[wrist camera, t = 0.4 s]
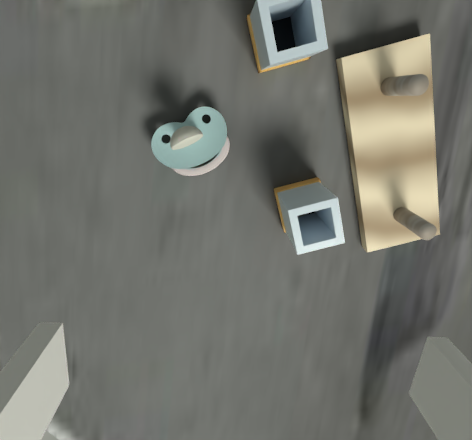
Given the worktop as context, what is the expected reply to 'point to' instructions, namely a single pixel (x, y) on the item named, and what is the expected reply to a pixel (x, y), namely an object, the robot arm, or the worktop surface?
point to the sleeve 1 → (303, 24)
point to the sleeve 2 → (309, 215)
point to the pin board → (392, 141)
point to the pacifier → (193, 143)
